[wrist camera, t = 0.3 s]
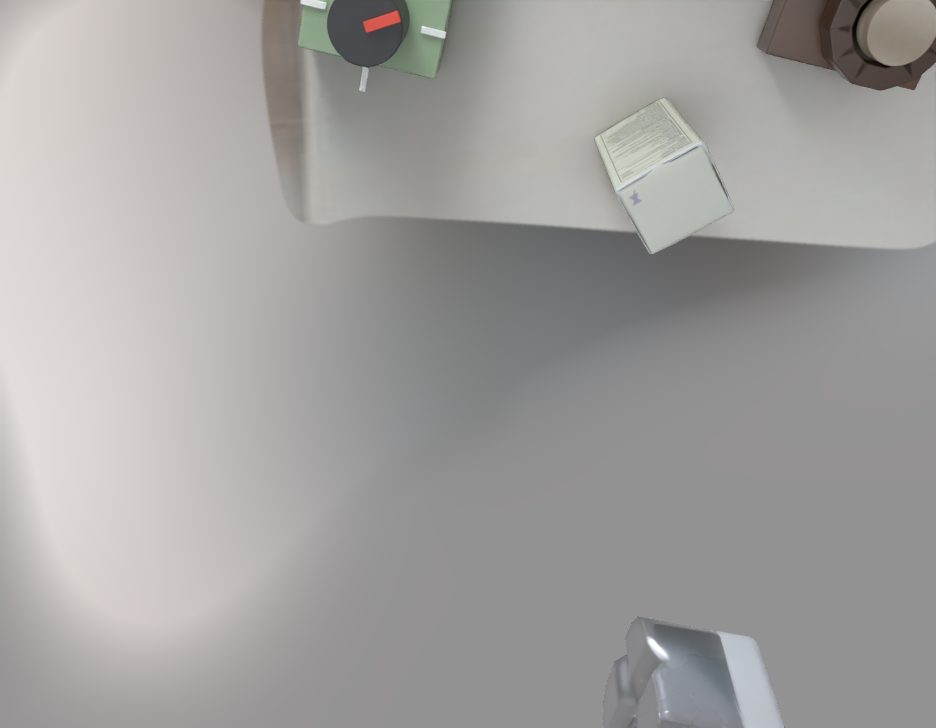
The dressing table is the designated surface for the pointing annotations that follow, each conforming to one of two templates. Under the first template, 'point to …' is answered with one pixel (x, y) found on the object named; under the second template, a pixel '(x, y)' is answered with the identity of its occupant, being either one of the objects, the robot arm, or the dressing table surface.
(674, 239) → the box
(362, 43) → the dimmer knob
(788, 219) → the dressing table surface
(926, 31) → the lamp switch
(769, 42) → the lamp base
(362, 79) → the dimmer panel
